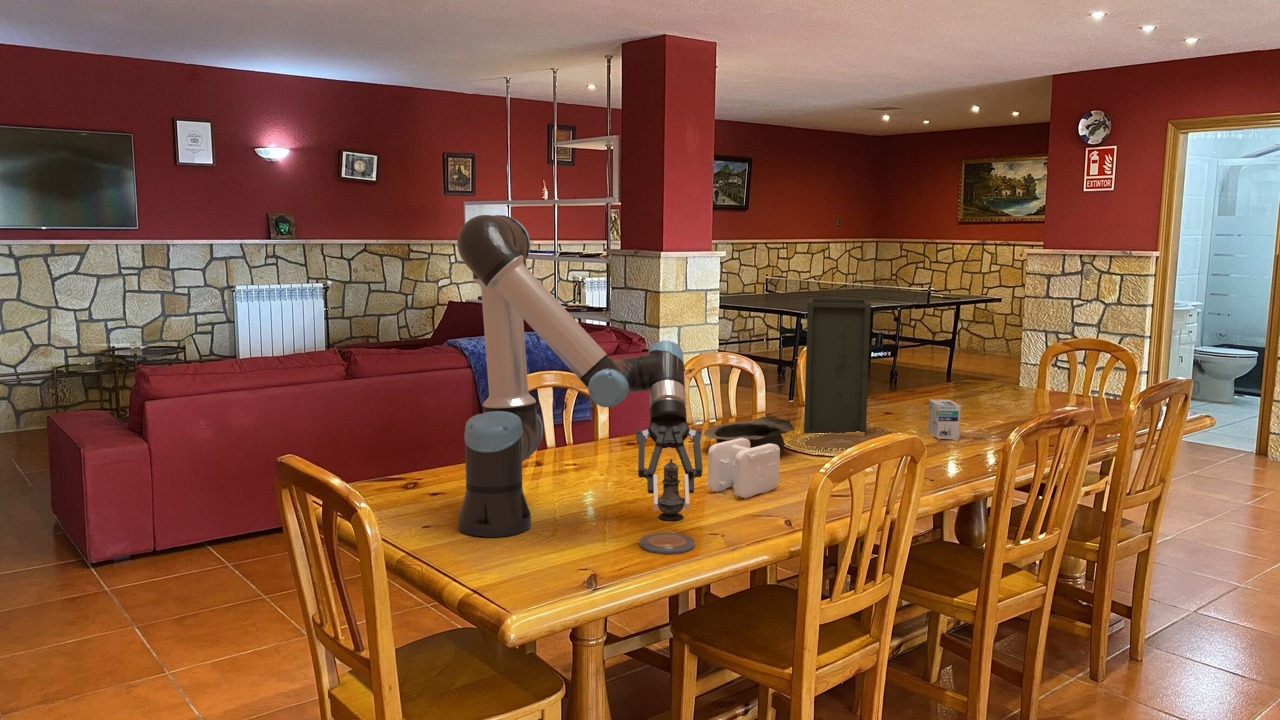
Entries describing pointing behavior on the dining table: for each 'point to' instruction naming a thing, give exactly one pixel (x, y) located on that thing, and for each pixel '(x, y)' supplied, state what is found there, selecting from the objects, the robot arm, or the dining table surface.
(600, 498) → the dining table surface
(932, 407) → the light bulb box
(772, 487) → the cable organizer
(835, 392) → the dark green rectangular pillar
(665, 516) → the salt shaker
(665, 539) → the coaster
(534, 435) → the robot arm
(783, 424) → the black brimmed hat
